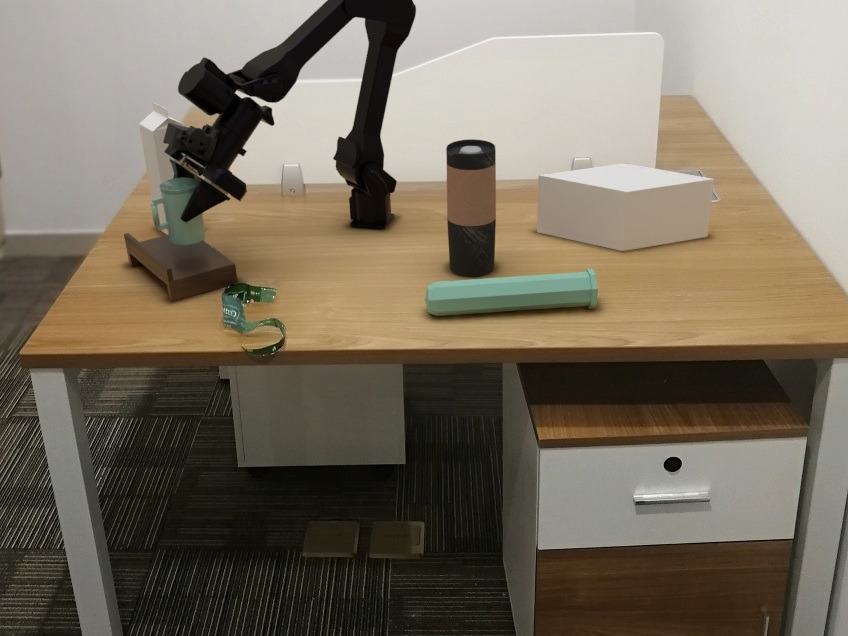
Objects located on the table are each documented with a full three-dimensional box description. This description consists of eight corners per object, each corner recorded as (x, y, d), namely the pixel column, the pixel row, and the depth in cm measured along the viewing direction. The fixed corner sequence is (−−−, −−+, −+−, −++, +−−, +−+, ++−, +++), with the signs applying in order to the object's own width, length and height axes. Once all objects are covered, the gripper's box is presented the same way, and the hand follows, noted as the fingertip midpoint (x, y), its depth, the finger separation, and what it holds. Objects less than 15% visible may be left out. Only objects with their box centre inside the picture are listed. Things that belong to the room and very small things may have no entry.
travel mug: (501, 261, 166) (502, 141, 156) (487, 280, 160) (487, 156, 150) (457, 256, 168) (455, 137, 158) (441, 274, 162) (438, 152, 152)
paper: (538, 217, 183) (540, 161, 178) (703, 221, 180) (709, 165, 174) (535, 248, 170) (536, 189, 165) (711, 253, 167) (719, 194, 162)
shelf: (191, 248, 173) (187, 218, 171) (238, 283, 161) (233, 251, 158) (129, 264, 168) (123, 233, 165) (172, 301, 155) (166, 269, 152)
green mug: (197, 228, 166) (188, 174, 161) (212, 238, 162) (204, 184, 157) (151, 239, 162) (141, 185, 157) (165, 251, 158) (155, 196, 153)
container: (424, 280, 145) (596, 268, 147) (422, 278, 151) (588, 267, 153) (426, 321, 146) (598, 309, 148) (425, 318, 152) (590, 306, 153)
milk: (170, 238, 178) (148, 112, 167) (156, 227, 182) (134, 104, 171) (202, 229, 181) (183, 105, 170) (187, 219, 185) (168, 98, 174)
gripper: (166, 90, 160) (112, 172, 160) (217, 115, 147) (157, 205, 147) (219, 129, 168) (167, 208, 168) (271, 157, 155) (215, 242, 155)
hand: (175, 215), depth 160 cm, fingers closed on green mug, 6 cm apart
